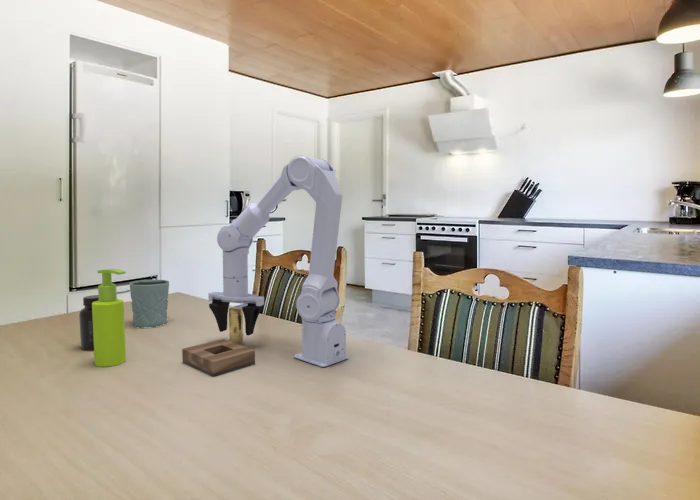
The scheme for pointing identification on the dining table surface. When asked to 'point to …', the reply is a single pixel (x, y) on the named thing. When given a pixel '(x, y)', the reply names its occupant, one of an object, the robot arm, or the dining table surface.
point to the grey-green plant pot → (149, 302)
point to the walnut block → (218, 357)
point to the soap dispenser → (108, 323)
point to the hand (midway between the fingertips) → (236, 332)
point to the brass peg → (236, 325)
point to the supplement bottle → (87, 323)
